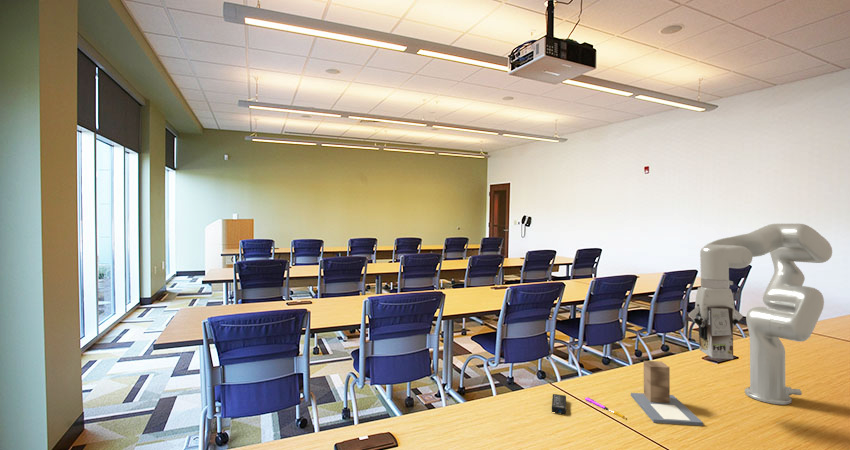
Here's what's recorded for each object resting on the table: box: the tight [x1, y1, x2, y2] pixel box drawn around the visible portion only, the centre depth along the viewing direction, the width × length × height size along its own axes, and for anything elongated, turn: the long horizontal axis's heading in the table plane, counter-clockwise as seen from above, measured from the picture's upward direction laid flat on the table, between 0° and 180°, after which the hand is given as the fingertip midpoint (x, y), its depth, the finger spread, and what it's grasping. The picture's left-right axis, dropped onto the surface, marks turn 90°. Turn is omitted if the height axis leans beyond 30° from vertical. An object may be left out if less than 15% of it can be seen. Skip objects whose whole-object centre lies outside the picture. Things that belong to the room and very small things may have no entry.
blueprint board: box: [630, 360, 704, 427], centre depth 134 cm, size 14×20×13 cm
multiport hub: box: [551, 393, 567, 415], centre depth 136 cm, size 4×11×2 cm, turn 161°
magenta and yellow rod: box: [584, 397, 628, 420], centre depth 135 cm, size 3×1×16 cm
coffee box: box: [698, 307, 734, 360], centre depth 132 cm, size 9×6×16 cm
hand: (715, 338), depth 132 cm, fingers closed on coffee box, 6 cm apart
